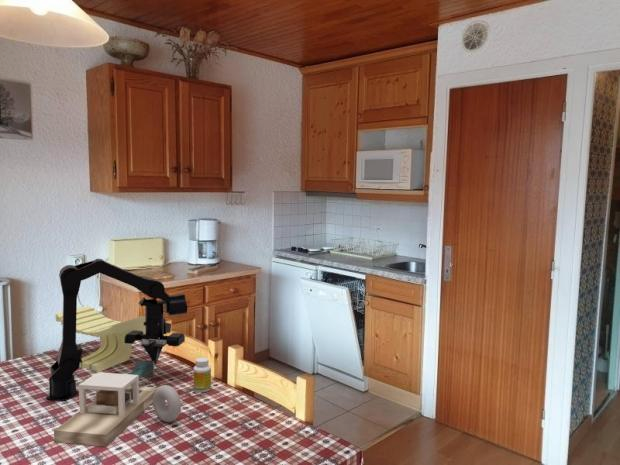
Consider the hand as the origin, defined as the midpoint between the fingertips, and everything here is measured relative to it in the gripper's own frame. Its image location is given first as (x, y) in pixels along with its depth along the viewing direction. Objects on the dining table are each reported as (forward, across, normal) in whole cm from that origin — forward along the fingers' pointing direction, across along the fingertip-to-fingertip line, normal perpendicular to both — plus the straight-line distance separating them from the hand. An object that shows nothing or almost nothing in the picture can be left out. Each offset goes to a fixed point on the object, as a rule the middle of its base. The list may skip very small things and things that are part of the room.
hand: (155, 363), depth 163 cm
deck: (+6, 0, +28) cm, 28 cm away
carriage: (+2, 0, +19) cm, 20 cm away
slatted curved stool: (+6, +26, -13) cm, 30 cm away
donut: (+6, -16, +27) cm, 32 cm away
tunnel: (+2, 0, +28) cm, 28 cm away
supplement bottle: (+6, -18, +5) cm, 20 cm away
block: (+2, 0, +28) cm, 28 cm away
